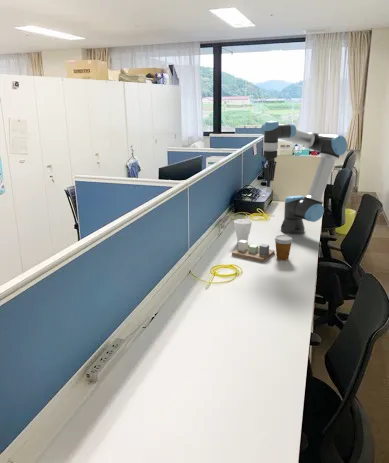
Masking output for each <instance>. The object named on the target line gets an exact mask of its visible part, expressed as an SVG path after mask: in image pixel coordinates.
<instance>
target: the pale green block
mask: <svg viewBox="0 0 389 463" xmlns="http://www.w3.org/2000/svg"><path fill="white" fill-rule="evenodd" d="M258 247H259V244H252V243H251V244H250V246H249V252H250V253H255V254H256V253H257V252H258Z"/></svg>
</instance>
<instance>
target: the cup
mask: <svg viewBox="0 0 389 463" xmlns="http://www.w3.org/2000/svg"><path fill="white" fill-rule="evenodd" d="M233 222H234V223H233V225H234V231H235V235H236V242H237V244H238V242H239V241H240V240H246V241H248V242H249V235H250V232H251V228H252V223H253V222H252V220H251V219H246V218H238V219H235V220H233Z"/></svg>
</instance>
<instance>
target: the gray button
mask: <svg viewBox="0 0 389 463" xmlns="http://www.w3.org/2000/svg"><path fill="white" fill-rule="evenodd" d="M258 247H259V254H260V255H264V256H266V255H268V254H269V249H270V245H269V244H265V243H261V244H260V245H258Z"/></svg>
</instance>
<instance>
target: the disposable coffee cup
mask: <svg viewBox="0 0 389 463" xmlns="http://www.w3.org/2000/svg"><path fill="white" fill-rule="evenodd" d="M274 242H275V252H276V259H277V260H279V261H288V260H289V257H290V254H291V248H292V243H293V238H292V236H289V235H286V234H280V235H276V236H275V237H274Z"/></svg>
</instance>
